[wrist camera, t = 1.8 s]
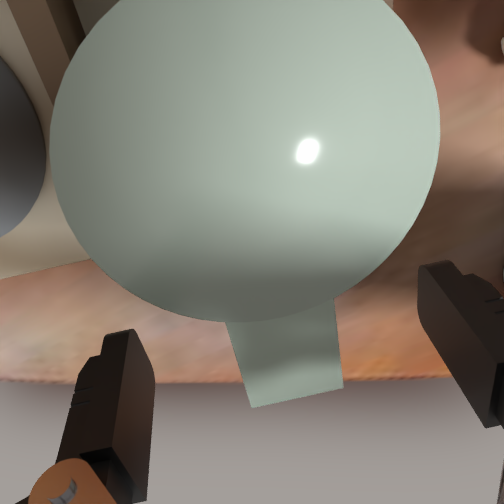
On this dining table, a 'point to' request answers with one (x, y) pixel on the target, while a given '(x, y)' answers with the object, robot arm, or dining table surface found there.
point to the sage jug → (247, 165)
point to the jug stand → (37, 127)
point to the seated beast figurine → (503, 43)
